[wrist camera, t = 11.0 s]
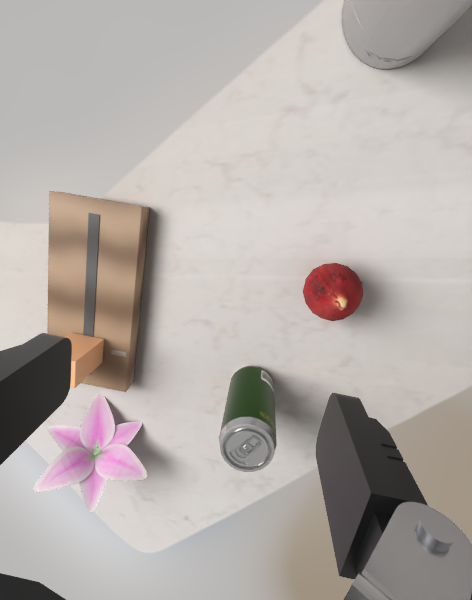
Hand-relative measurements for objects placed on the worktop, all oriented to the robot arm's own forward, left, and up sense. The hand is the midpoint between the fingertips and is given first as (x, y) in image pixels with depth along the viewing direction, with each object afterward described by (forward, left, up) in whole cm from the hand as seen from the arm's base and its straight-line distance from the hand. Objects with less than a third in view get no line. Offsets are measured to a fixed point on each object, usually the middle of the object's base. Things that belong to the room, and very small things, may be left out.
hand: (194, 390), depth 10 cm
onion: (+1, +9, -29) cm, 30 cm away
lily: (+26, -14, -29) cm, 41 cm away
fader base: (+7, -17, -29) cm, 34 cm away
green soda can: (+15, +3, -29) cm, 33 cm away
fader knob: (+13, -17, -26) cm, 33 cm away
